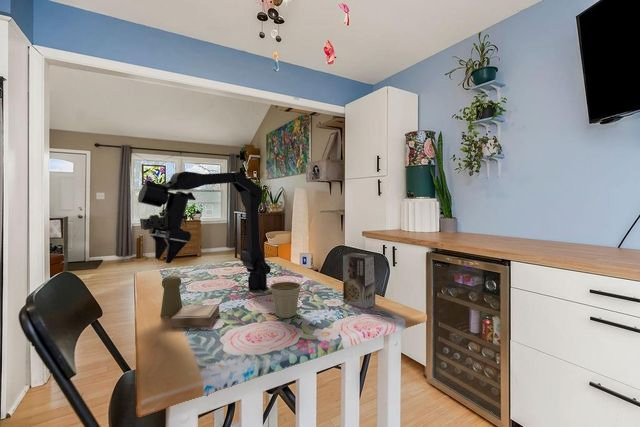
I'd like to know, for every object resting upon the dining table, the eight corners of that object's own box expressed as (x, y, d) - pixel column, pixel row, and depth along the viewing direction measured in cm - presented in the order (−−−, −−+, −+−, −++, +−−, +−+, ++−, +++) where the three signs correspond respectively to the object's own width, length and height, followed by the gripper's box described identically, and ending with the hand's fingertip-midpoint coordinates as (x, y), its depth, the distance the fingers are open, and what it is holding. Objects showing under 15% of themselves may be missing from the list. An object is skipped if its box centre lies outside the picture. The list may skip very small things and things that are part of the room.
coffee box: (376, 304, 99) (376, 255, 99) (364, 309, 94) (365, 257, 94) (353, 298, 105) (354, 252, 105) (342, 302, 101) (342, 254, 100)
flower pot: (275, 323, 83) (275, 292, 83) (265, 311, 92) (265, 283, 91) (306, 317, 88) (306, 287, 87) (294, 307, 96) (294, 280, 96)
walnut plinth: (219, 312, 91) (219, 304, 91) (210, 326, 81) (210, 316, 81) (184, 313, 90) (184, 305, 90) (171, 327, 80) (171, 317, 80)
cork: (174, 317, 87) (173, 279, 86) (155, 315, 88) (155, 278, 88) (187, 310, 93) (186, 274, 92) (170, 308, 94) (169, 273, 94)
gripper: (137, 204, 94) (124, 253, 92) (158, 204, 81) (142, 262, 79) (173, 212, 102) (162, 258, 100) (197, 214, 89) (184, 266, 87)
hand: (162, 260), depth 91 cm, fingers open, 9 cm apart
